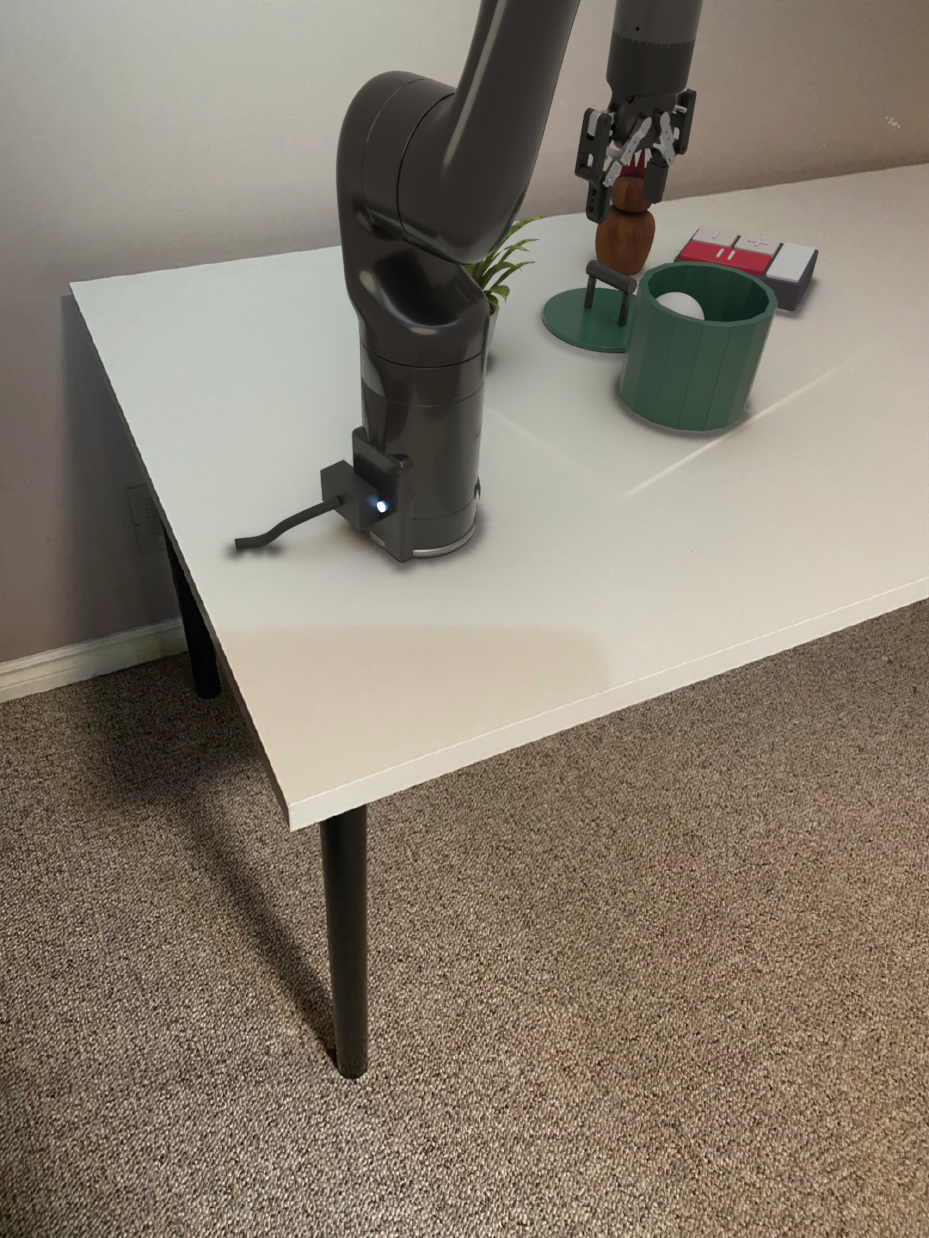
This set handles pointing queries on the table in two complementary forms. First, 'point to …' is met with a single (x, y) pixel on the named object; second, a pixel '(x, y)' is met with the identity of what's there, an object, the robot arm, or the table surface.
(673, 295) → the light bulb
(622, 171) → the wooden figurine
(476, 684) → the table surface
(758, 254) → the calculator
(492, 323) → the house plant
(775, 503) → the table surface
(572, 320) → the lid
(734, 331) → the tin
